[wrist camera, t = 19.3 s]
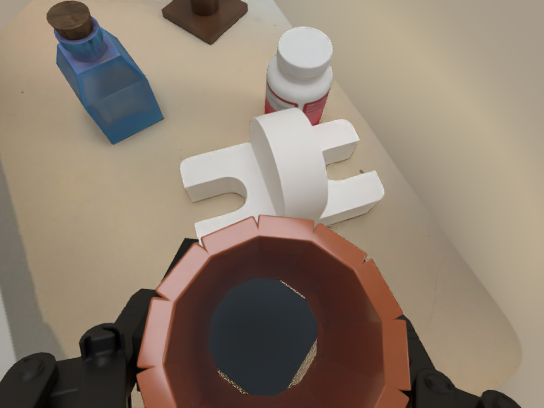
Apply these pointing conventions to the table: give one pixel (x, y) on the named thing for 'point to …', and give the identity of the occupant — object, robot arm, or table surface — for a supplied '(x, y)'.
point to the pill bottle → (300, 73)
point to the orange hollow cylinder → (320, 297)
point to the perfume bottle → (102, 73)
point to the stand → (205, 16)
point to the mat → (261, 335)
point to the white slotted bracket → (283, 173)
